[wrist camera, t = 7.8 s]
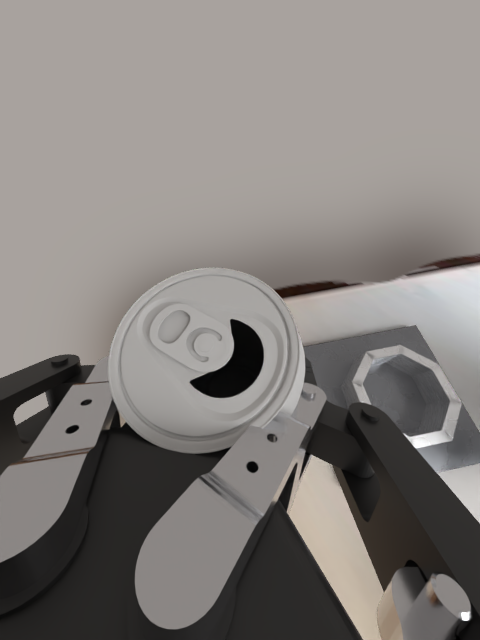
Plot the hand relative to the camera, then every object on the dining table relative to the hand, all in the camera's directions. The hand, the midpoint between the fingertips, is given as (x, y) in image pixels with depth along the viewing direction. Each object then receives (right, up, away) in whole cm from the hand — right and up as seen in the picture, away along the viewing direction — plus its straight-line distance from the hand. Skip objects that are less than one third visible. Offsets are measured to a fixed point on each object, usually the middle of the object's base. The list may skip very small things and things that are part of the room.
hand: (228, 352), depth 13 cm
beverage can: (0, -4, +5) cm, 6 cm away
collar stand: (+19, -8, +15) cm, 25 cm away
